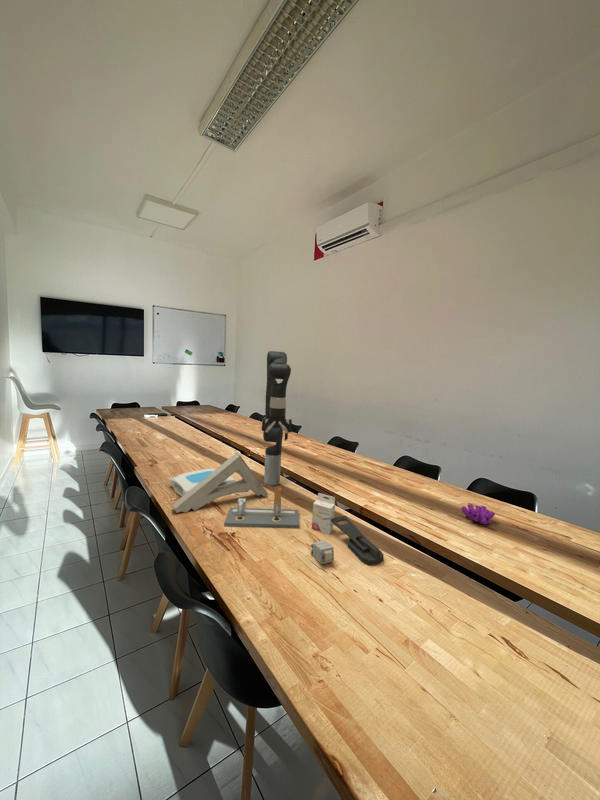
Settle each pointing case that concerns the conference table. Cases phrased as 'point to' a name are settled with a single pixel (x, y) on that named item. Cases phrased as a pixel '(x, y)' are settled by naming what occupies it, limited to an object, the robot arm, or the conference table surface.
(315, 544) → the electrical component
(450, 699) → the conference table surface
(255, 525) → the gauge plate
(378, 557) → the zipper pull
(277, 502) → the sliding divider leg
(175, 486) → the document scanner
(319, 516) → the ink cartridge box
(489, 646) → the conference table surface
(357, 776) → the conference table surface
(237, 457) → the wall bracket
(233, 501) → the conference table surface
